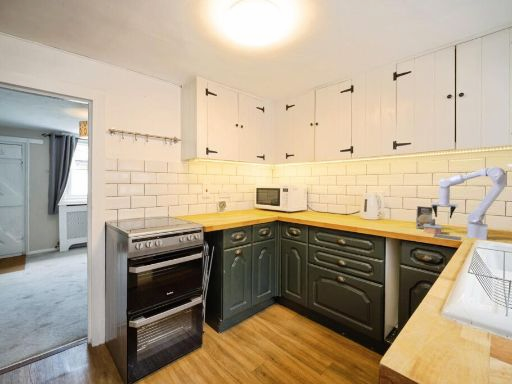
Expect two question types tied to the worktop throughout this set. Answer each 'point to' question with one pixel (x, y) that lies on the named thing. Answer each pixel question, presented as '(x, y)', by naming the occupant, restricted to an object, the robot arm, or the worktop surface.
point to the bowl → (432, 230)
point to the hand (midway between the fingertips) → (443, 217)
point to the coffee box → (423, 216)
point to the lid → (433, 224)
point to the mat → (447, 237)
